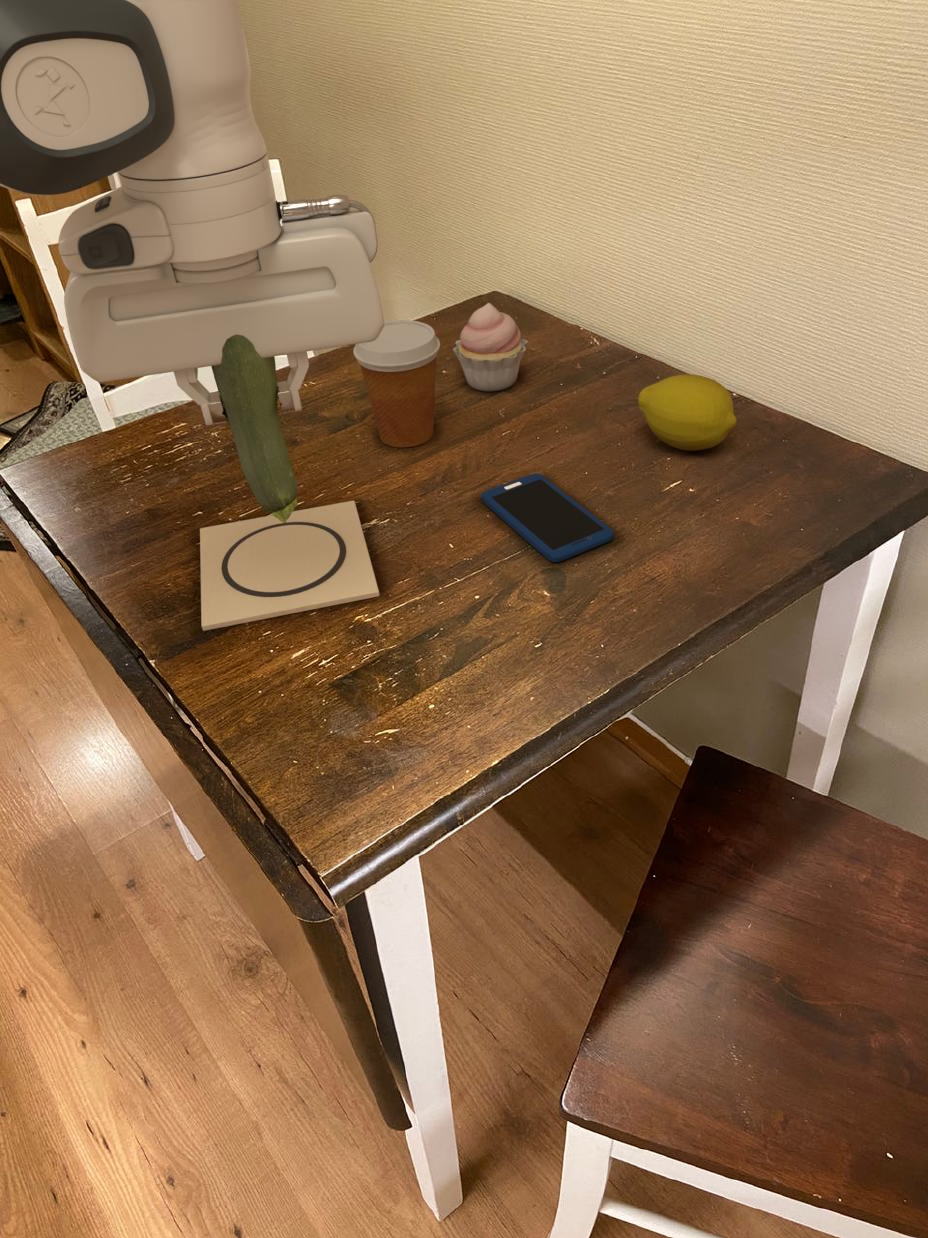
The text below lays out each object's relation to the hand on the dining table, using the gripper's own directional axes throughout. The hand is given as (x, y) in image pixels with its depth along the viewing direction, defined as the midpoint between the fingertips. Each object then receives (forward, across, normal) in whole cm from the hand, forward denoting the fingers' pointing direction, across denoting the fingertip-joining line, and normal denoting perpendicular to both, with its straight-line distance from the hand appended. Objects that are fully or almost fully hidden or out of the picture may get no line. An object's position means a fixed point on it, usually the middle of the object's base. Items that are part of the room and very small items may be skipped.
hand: (254, 414), depth 63 cm
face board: (+21, +1, -11) cm, 24 cm away
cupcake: (+21, -28, -43) cm, 55 cm away
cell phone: (+21, -25, -10) cm, 34 cm away
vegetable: (+9, 0, 0) cm, 9 cm away
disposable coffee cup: (+21, -15, -32) cm, 41 cm away
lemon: (+21, -44, -20) cm, 53 cm away
